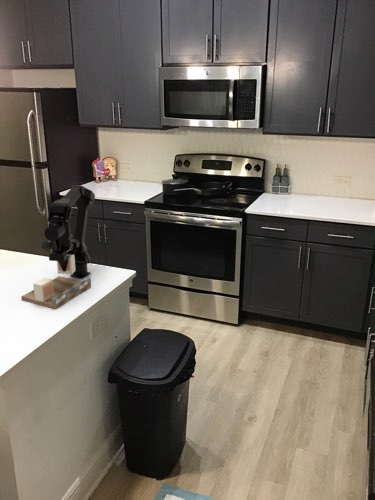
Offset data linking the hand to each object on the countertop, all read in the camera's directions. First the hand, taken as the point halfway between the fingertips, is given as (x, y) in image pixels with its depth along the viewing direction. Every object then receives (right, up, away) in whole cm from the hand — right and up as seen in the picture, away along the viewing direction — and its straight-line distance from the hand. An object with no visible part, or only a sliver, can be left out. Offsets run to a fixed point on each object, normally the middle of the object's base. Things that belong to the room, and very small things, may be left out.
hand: (66, 269), depth 179 cm
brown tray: (-3, -10, -2) cm, 10 cm away
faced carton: (-6, -11, -9) cm, 15 cm away
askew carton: (0, -1, +1) cm, 1 cm away
